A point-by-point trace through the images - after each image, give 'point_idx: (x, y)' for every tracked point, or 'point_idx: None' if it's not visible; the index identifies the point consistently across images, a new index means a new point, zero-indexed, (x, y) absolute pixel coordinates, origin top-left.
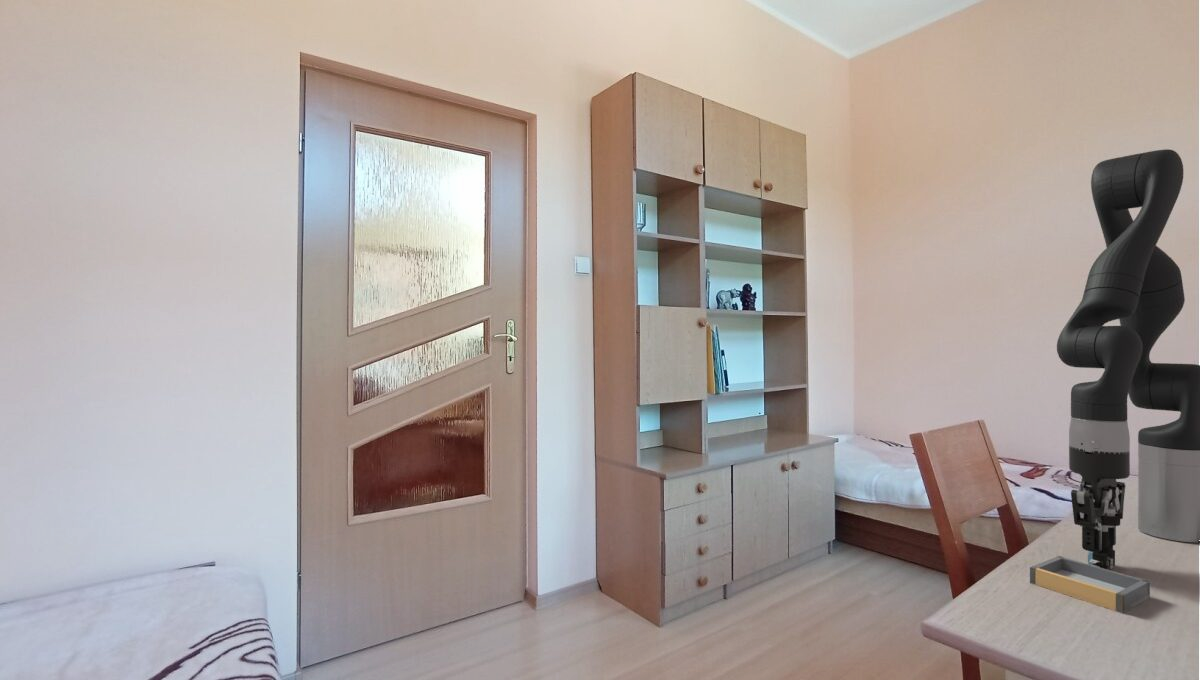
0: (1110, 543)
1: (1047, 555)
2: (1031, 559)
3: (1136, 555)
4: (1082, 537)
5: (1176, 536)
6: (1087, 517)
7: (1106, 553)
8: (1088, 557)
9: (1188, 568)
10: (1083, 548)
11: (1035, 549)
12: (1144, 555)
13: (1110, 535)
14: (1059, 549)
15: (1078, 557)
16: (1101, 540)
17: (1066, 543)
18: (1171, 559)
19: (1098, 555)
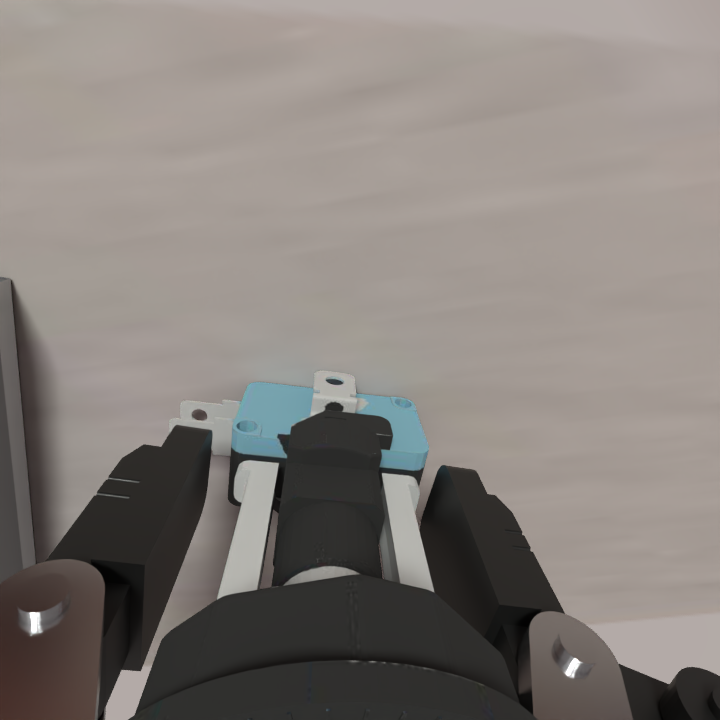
0: (423, 529)
1: (291, 157)
2: (79, 84)
3: (665, 490)
4: (147, 476)
5: None
6: (139, 702)
7: (274, 507)
8: (317, 387)
9: (592, 620)
10: (180, 426)
11: (375, 52)
12: (687, 509)
13: (436, 579)
14: (509, 192)
15: (411, 310)
16: (263, 552)
17: (694, 201)
18: (689, 576)
19: (231, 471)
